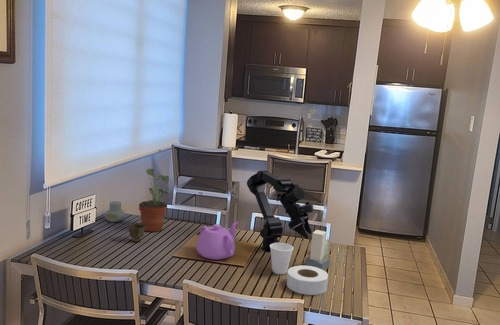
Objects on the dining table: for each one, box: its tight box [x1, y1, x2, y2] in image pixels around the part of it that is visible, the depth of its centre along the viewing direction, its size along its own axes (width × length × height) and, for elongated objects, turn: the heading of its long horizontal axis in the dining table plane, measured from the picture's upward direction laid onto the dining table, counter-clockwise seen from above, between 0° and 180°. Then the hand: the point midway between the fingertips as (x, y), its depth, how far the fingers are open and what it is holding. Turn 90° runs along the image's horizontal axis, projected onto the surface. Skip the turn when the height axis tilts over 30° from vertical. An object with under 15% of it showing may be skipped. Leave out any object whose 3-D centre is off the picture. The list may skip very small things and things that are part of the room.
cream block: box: [309, 229, 327, 262], centre depth 191 cm, size 4×5×12 cm
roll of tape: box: [286, 265, 329, 296], centre depth 172 cm, size 16×16×6 cm
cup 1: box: [128, 222, 145, 243], centre depth 208 cm, size 8×7×8 cm
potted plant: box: [138, 168, 170, 233], centre depth 225 cm, size 16×15×35 cm
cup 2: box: [270, 242, 295, 275], centre depth 184 cm, size 10×10×11 cm
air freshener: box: [104, 200, 127, 223], centre depth 237 cm, size 11×8×10 cm
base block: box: [304, 256, 331, 271], centre depth 193 cm, size 8×8×4 cm
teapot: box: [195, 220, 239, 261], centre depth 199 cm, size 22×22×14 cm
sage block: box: [324, 240, 330, 257], centre depth 208 cm, size 5×5×6 cm
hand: (309, 235), depth 195 cm, fingers open, 9 cm apart
